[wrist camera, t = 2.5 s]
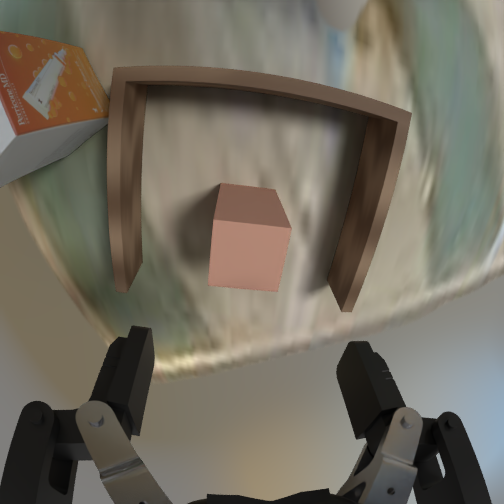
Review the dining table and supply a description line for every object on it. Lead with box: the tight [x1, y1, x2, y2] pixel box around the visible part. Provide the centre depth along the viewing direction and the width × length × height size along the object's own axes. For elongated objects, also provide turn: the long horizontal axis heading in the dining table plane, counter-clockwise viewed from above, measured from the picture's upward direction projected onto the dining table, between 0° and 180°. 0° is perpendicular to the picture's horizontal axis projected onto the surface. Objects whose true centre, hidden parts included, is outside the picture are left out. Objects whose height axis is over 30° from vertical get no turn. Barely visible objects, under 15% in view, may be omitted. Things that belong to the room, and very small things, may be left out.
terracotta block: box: [208, 183, 292, 292], centre depth 21 cm, size 4×4×8 cm
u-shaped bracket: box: [107, 66, 412, 312], centre depth 21 cm, size 17×20×5 cm
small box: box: [0, 31, 110, 187], centre depth 13 cm, size 8×6×13 cm
